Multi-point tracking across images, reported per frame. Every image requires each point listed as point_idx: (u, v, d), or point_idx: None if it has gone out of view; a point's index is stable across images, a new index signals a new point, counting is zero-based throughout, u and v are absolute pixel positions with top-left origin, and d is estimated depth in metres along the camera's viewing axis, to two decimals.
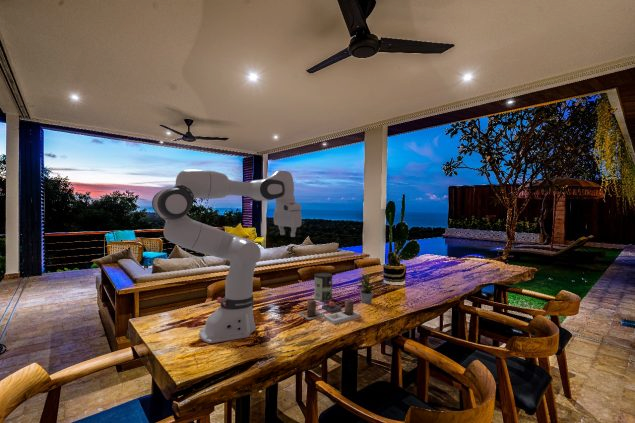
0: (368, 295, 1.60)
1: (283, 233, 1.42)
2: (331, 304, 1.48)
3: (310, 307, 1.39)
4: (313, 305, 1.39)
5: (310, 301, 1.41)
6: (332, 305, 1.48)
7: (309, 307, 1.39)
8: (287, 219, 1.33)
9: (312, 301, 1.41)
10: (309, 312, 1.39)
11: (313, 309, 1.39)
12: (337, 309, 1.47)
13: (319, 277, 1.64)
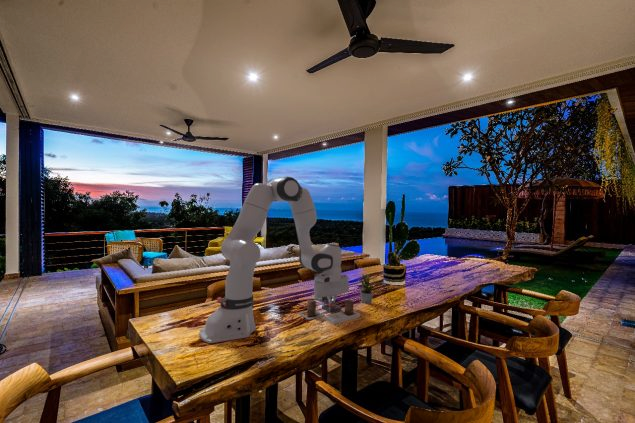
0: (368, 295, 1.60)
1: None
2: (331, 305, 1.48)
3: (310, 307, 1.39)
4: (313, 305, 1.39)
5: (310, 301, 1.41)
6: (332, 306, 1.48)
7: (309, 307, 1.39)
8: None
9: (312, 301, 1.41)
10: (309, 312, 1.39)
11: (313, 309, 1.39)
12: (337, 309, 1.47)
13: None
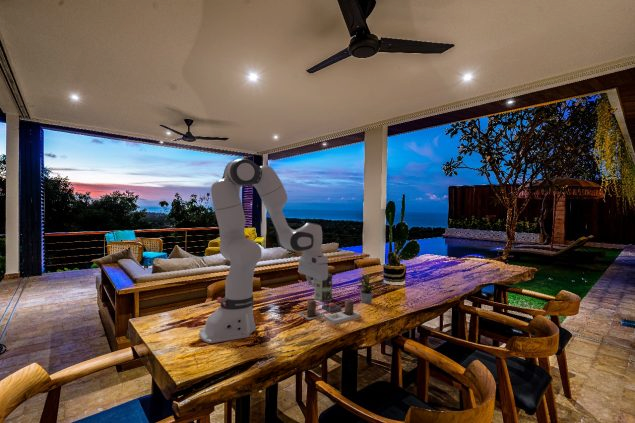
0: (368, 295, 1.60)
1: (310, 283, 1.42)
2: (331, 305, 1.48)
3: (310, 307, 1.39)
4: (313, 305, 1.39)
5: (310, 301, 1.41)
6: (332, 306, 1.48)
7: (309, 307, 1.39)
8: (313, 271, 1.36)
9: (312, 301, 1.41)
10: (309, 312, 1.39)
11: (313, 309, 1.39)
12: (337, 309, 1.47)
13: None
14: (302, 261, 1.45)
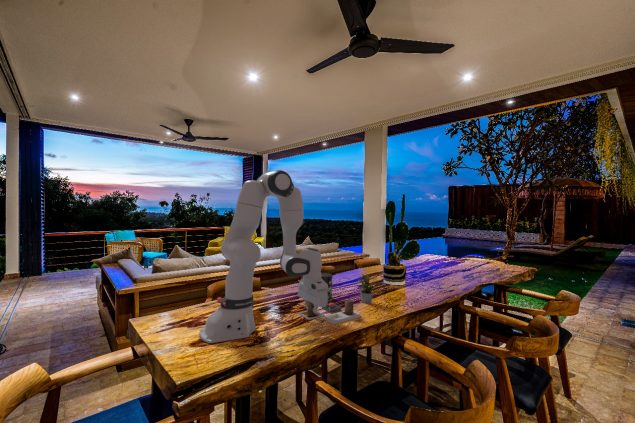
0: (368, 295, 1.60)
1: None
2: (331, 305, 1.48)
3: (310, 307, 1.39)
4: (313, 305, 1.39)
5: None
6: (332, 306, 1.48)
7: (309, 307, 1.39)
8: (313, 297, 1.37)
9: None
10: (309, 312, 1.39)
11: None
12: (337, 309, 1.47)
13: None
14: (302, 285, 1.45)
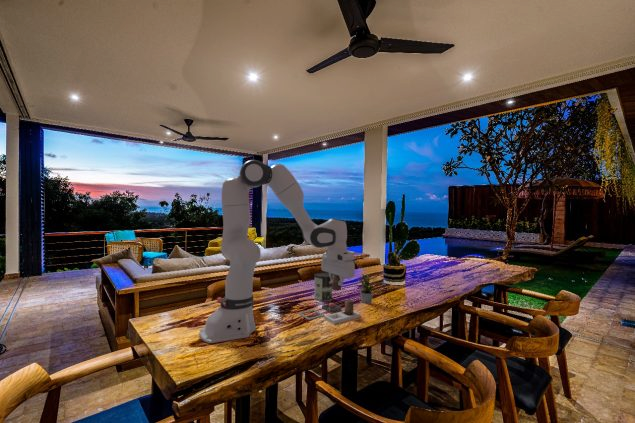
0: (368, 295, 1.60)
1: None
2: (331, 305, 1.48)
3: (335, 280, 1.34)
4: None
5: None
6: (332, 306, 1.48)
7: (334, 280, 1.34)
8: (339, 268, 1.31)
9: None
10: (334, 285, 1.34)
11: None
12: (337, 309, 1.47)
13: (319, 277, 1.64)
14: (325, 258, 1.39)
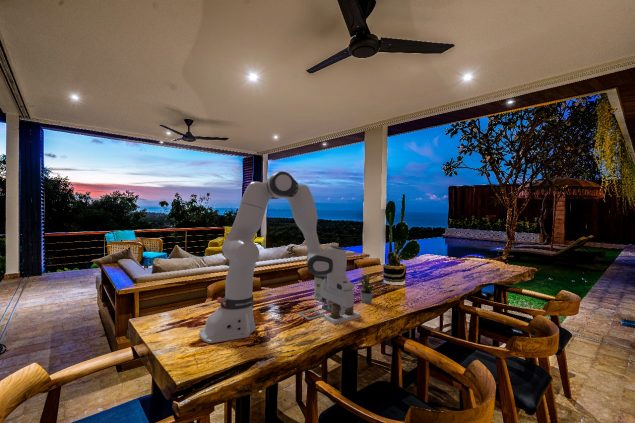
0: (368, 295, 1.60)
1: (331, 308, 1.39)
2: None
3: (334, 311, 1.34)
4: (338, 308, 1.34)
5: (334, 304, 1.35)
6: None
7: (333, 310, 1.34)
8: (338, 297, 1.31)
9: (336, 304, 1.36)
10: (333, 316, 1.34)
11: (338, 312, 1.34)
12: None
13: (319, 277, 1.64)
14: (325, 285, 1.39)
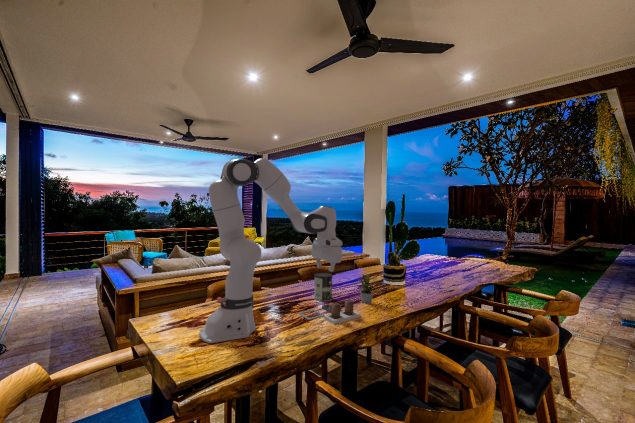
0: (368, 295, 1.60)
1: (320, 266, 1.44)
2: (331, 305, 1.48)
3: (334, 311, 1.34)
4: (338, 308, 1.34)
5: (334, 304, 1.35)
6: None
7: (334, 310, 1.34)
8: (327, 253, 1.36)
9: (337, 304, 1.36)
10: (334, 316, 1.34)
11: (338, 313, 1.34)
12: None
13: (319, 277, 1.64)
14: (315, 245, 1.45)
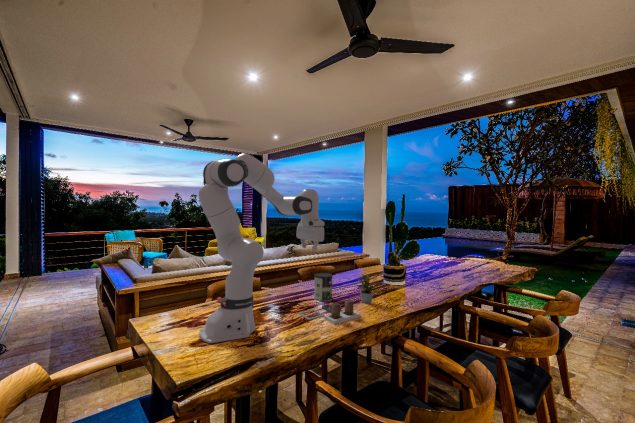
0: (368, 295, 1.60)
1: (304, 246, 1.54)
2: (331, 305, 1.48)
3: (335, 311, 1.34)
4: (338, 308, 1.34)
5: (334, 304, 1.35)
6: None
7: (334, 311, 1.34)
8: (311, 234, 1.46)
9: (337, 304, 1.35)
10: (334, 316, 1.34)
11: (338, 313, 1.34)
12: None
13: (319, 277, 1.64)
14: (300, 226, 1.54)
